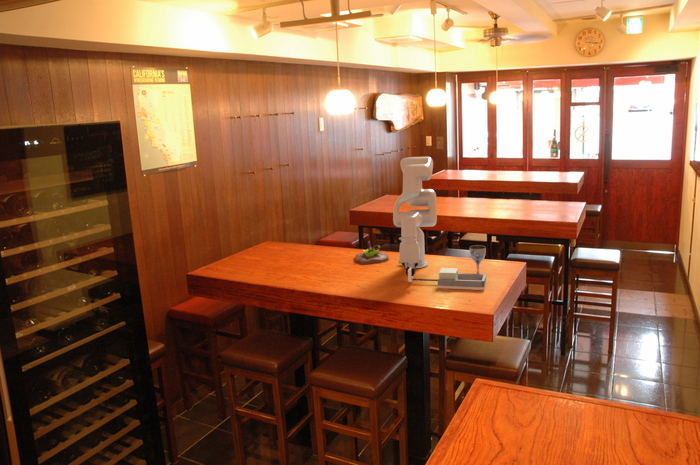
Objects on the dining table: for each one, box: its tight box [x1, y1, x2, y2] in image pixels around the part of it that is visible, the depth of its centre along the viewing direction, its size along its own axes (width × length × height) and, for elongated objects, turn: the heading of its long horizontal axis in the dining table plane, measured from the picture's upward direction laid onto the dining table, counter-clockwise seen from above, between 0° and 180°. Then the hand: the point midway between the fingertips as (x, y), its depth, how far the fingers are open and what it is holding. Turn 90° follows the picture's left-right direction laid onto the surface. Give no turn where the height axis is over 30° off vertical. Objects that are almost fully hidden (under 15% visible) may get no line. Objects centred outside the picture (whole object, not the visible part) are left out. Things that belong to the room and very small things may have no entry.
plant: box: [354, 240, 389, 265], centre depth 334 cm, size 20×20×11 cm
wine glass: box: [469, 244, 487, 274], centre depth 290 cm, size 8×8×15 cm
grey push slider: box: [407, 267, 459, 283], centre depth 281 cm, size 24×8×6 cm, turn 72°
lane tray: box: [437, 272, 487, 291], centre depth 277 cm, size 22×12×4 cm, turn 72°
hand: (410, 275), depth 285 cm, fingers closed on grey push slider
